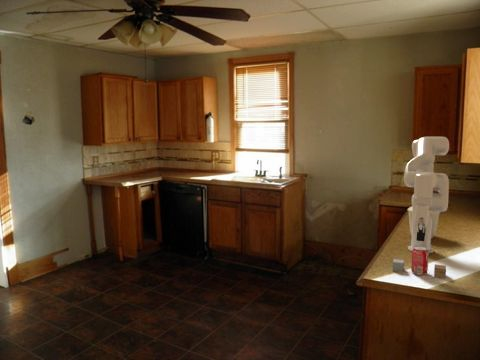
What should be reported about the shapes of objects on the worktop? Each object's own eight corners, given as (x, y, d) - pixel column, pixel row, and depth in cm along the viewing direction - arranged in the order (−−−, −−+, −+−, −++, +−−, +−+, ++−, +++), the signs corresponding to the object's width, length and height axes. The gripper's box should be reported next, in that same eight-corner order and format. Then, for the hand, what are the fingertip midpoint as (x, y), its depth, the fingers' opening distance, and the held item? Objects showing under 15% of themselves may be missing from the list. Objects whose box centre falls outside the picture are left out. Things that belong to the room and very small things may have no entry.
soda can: (422, 270, 189) (424, 245, 187) (430, 275, 182) (431, 250, 180) (408, 270, 188) (409, 245, 187) (415, 276, 181) (416, 250, 180)
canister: (404, 238, 239) (406, 203, 237) (407, 231, 255) (409, 198, 252) (438, 242, 231) (440, 206, 228) (439, 234, 247) (441, 200, 244)
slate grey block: (393, 268, 192) (393, 258, 191) (403, 269, 190) (404, 260, 189) (392, 271, 188) (392, 261, 187) (403, 272, 186) (403, 263, 185)
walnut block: (434, 273, 184) (434, 264, 184) (445, 275, 182) (446, 265, 182) (433, 277, 180) (434, 267, 180) (445, 278, 178) (446, 268, 178)
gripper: (414, 197, 190) (413, 233, 192) (412, 203, 174) (410, 242, 176) (432, 198, 186) (430, 234, 188) (431, 204, 171) (429, 244, 173)
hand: (420, 238), depth 182 cm, fingers open, 9 cm apart
